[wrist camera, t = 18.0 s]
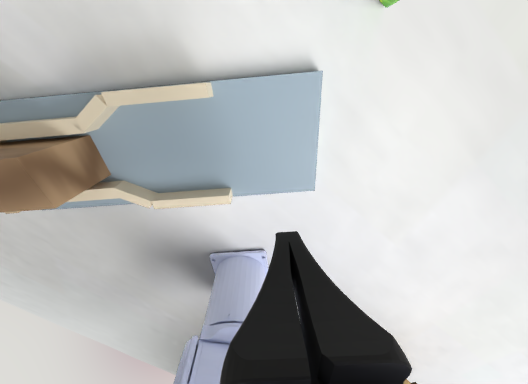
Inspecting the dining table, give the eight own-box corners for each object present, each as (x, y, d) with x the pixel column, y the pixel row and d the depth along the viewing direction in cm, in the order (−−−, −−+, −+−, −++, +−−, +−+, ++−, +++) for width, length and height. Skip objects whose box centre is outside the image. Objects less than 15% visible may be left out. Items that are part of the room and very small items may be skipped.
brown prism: (111, 174, 19) (55, 208, 14) (36, 180, 19) (-46, 215, 14) (89, 135, 17) (15, 157, 12) (7, 142, 17) (-101, 167, 12)
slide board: (312, 186, 21) (322, 206, 18) (50, 205, 22) (11, 227, 19) (319, 71, 16) (335, 68, 12) (-30, 103, 17) (-106, 109, 13)
